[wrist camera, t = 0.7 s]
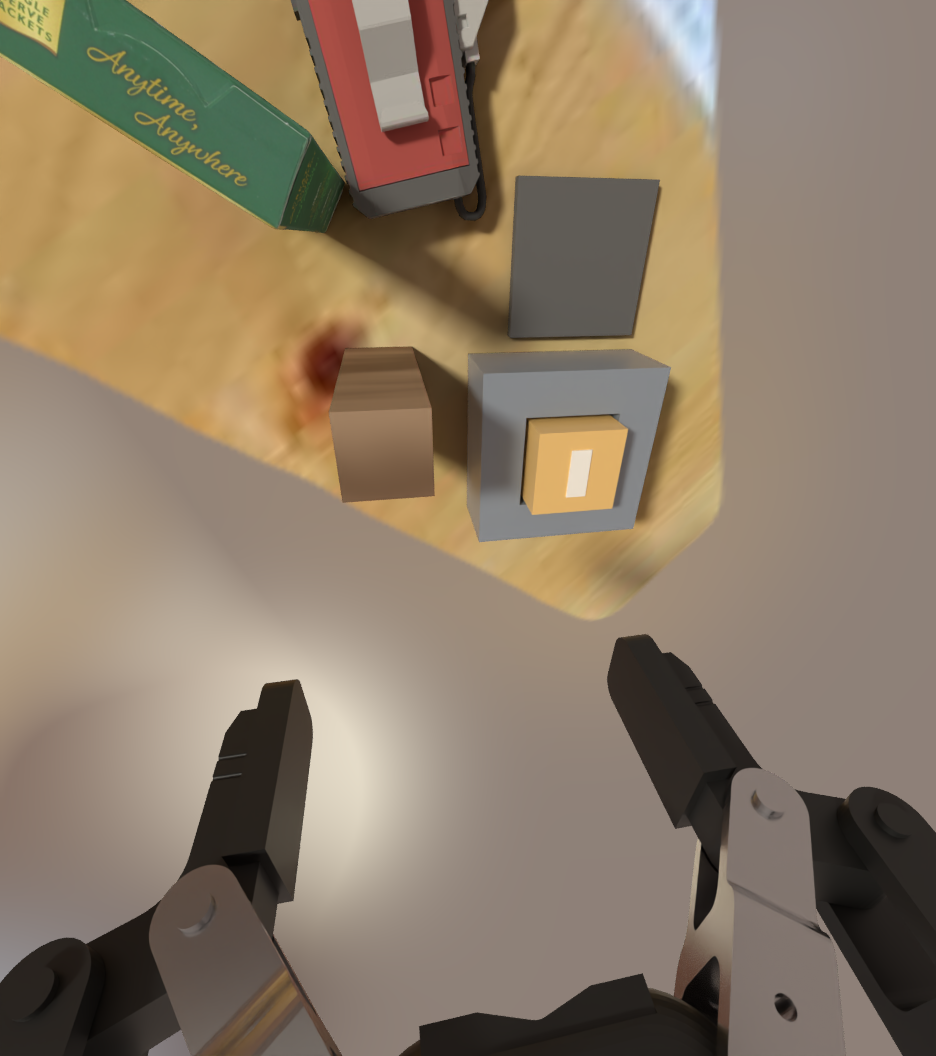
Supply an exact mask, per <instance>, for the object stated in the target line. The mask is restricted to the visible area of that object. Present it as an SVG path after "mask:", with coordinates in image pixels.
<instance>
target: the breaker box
mask: <svg viewBox="0 0 936 1056" xmlns="http://www.w3.org/2000/svg"><path fill="white" fill-rule="evenodd" d="M670 369H671V367H669V366H667V365H665V364H662V363H660V362H658V361H656V360H654V359H652V358H649V357H647V356H645V355H643V354H641V353H638V352H636V351H634V350H632V349H621V350H584V351H548V352H511V353H475V354H468V433H467V507H468V510H469V513H470V516H471V519H472V522H473V525H474V528H475V531H476V534H477V537H478V540H479V542H485V541H497V540H508V539H520V538H531V537H543V536H554V535H566V534H577V533H589V532H600V531H612V530H623V529H633V527H634V523H635V518H636V514H637V510H638V506H639V501H640V497H641V493H642V489H643V484H644V480H645V476H646V472H647V467H648V463H649V459H650V454H651V450H652V446H653V442H654V437H655V433H656V429H657V425H658V420H659V416H660V412H661V408H662V403H663V399H664V395H665V391H666V386H667V382H668V378H669V374H670ZM600 414H609V415H611V416H612V417H613V418H614V419H616V420H617V421H618V422H620V423H621V424H622V425H623V426H625V427H626V428H627V429H628V433H627V438H626V443H625V448H624V453H623V458H622V463H621V468H620V473H619V478H618V482H617V487H616V492H615V497H614V502H613V507H612V509H601V510H588V511H576V512H563V513H551V514H538V515H532V514H531V512H530V510H529V508H528V507H527V505H526V503H525V501H524V499H523V497H522V496H521V494H520V493H521V480H522V467H523V454H524V442H525V429H526V418H539V417H559V416H580V415H600Z"/></svg>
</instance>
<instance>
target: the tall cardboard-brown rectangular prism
mask: <svg viewBox="0 0 936 1056" xmlns="http://www.w3.org/2000/svg"><path fill="white" fill-rule="evenodd" d="M329 417H330V424H331V430H332V437H333V443H334V450H335V456H336V463H337V469H338V475H339V482H340V488H341V495H342V501H343V503H344V502H358V501H372V500H386V499H400V498H414V497H428V496H434V466H433V436H432V408H431V405H430V402H429V398H428V395H427V392H426V389H425V386H424V383H423V379H422V376H421V373H420V370H419V367H418V364H417V361H416V357H415V354H414V351H413V348H412V347H377V348H345V352H344V356H343V360H342V364H341V367H340V371H339V375H338V379H337V383H336V387H335V390H334V394H333V398H332V402H331V406H330V410H329Z"/></svg>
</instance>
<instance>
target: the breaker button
mask: <svg viewBox="0 0 936 1056" xmlns="http://www.w3.org/2000/svg"><path fill="white" fill-rule="evenodd" d="M627 433H628V429H627V428H626V427H625V426H623V425H622V424H621V423H620V422H618V421H617V420H616V419H614V418H613V417H612V416H611V415H609V414H600V415H580V416H559V417H539V418H526V429H525V442H524V454H523V467H522V480H521V493H520V494H521V496H522V497H523V499H524V501H525V503H526V505H527V507H528V508H529V510H530V512H531V514H532V515H538V514H551V513H563V512H576V511H588V510H601V509H612V507H613V502H614V497H615V492H616V487H617V482H618V478H619V473H620V468H621V463H622V458H623V453H624V448H625V443H626V438H627Z"/></svg>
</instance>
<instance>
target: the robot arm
mask: <svg viewBox="0 0 936 1056" xmlns="http://www.w3.org/2000/svg"><path fill="white" fill-rule="evenodd" d="M607 682H608V689H609V693H610V696H611V699H612V701H613V703H614V705H615V707H616V709H617V711H618V713H619V715H620V717H621V719H622V721H623V723H624V725H625V727H626V729H627V731H628V733H629V735H630V738H631V739H632V742H633V744H634V746H635V748H636V750H637V752H638V754H639V756H640V758H641V760H642V762H643V764H644V766H645V768H646V770H647V772H648V774H649V776H650V778H651V780H652V782H653V784H654V786H655V788H656V790H657V793H658V795H659V797H660V799H661V801H662V803H663V805H664V807H665V809H666V811H667V813H668V815H669V817H670V819H671V821H672V823H673V825H674V827H675V829H677V828H682V827H687V826H692V827H693V829H694V831H695V833H696V835H697V837H698V840H697V844H696V852H695V861H694V870H693V879H692V889H691V897H690V906H689V916H688V925H687V932H686V937H685V941H684V945H683V948H682V951H681V954H680V959H679V962H678V967H677V973H676V980H675V988H674V996H672V995H670V994H668V993H665V992H662V991H659V990H656V989H652V988H648V987H647V984H646V982H645V979H644V976H643V974H638V975H634V976H630V977H625V978H621V979H617V980H613V981H609V982H605V983H600V984H596V985H591V986H589V987H588V988H587V989H585V990H584V991H582V992H581V993H580V994H578V995H576V996H575V997H573V998H572V999H571V1000H569V1001H568V1002H566V1003H565V1004H563V1005H562V1006H560V1007H559V1008H557V1009H556V1010H555V1011H553V1012H552V1013H550V1014H549V1015H547V1016H546V1017H544V1018H543V1019H540V1020H527V1019H520V1018H512V1017H505V1016H498V1015H490V1014H484V1013H473V1014H469V1015H465V1016H460V1017H456V1018H453V1019H448V1020H444V1021H440V1022H435V1023H431V1024H427V1025H423V1026H419V1030H420V1040H418V1041H417V1042H416V1043H414V1044H413V1045H412V1046H410V1047H408V1048H407V1049H406V1050H405V1051H404V1052H403V1053H401V1054H400V1055H399V1056H846V1052H845V1041H844V1031H843V1021H842V1010H841V1001H840V989H839V979H838V969H837V960H836V954H835V949H834V946H833V943H832V941H831V939H830V937H829V936H828V935H827V934H826V933H825V932H823V931H821V929H820V927H819V925H818V922H817V916H816V909H817V911H818V912H819V914H820V916H821V918H822V919H823V921H824V923H825V924H826V926H827V928H828V929H829V931H830V933H831V934H832V936H833V938H834V940H835V941H836V943H837V945H838V946H839V948H840V950H841V952H842V953H843V955H844V957H845V958H846V960H847V961H848V963H849V965H850V967H851V968H852V970H853V972H854V973H855V975H856V977H857V979H858V980H859V982H860V984H861V986H862V987H863V989H864V991H865V992H866V994H867V996H868V997H869V999H870V1001H871V1003H872V1004H873V1006H874V1008H875V1009H876V1011H877V1013H878V1014H879V1016H880V1018H881V1019H882V1021H883V1023H884V1025H885V1026H886V1028H887V1030H888V1031H889V1033H890V1035H891V1037H892V1038H893V1040H894V1042H895V1043H896V1045H897V1047H898V1048H899V1050H900V1052H901V1054H902V1055H903V1056H936V832H935V831H934V830H933V829H932V828H931V827H930V825H929V824H928V823H927V822H926V821H925V820H924V818H923V817H922V816H921V815H920V814H919V813H918V812H917V811H916V810H915V809H913V808H912V807H911V806H910V805H909V804H907V803H906V802H904V801H903V800H902V799H900V798H898V797H897V796H895V795H893V794H891V793H889V792H887V791H884V790H881V789H878V788H873V787H861V788H857V789H855V790H854V791H853V792H852V793H851V794H850V795H849V796H848V797H847V799H843V798H837V797H831V796H825V795H819V794H813V793H807V792H803V791H798V790H795V789H794V788H793V787H792V786H790V784H788V783H787V782H786V781H785V780H783V779H782V778H780V777H779V776H777V775H775V774H773V773H771V772H769V771H766V770H763V769H762V768H761V767H760V766H759V765H758V764H757V763H756V761H755V760H754V759H753V757H752V756H751V754H750V753H749V752H748V750H747V749H746V747H745V746H744V744H743V743H742V742H741V740H740V739H739V737H738V736H737V734H736V733H735V732H734V730H733V729H732V727H731V726H730V724H729V723H728V722H727V720H726V719H725V717H724V716H723V715H722V713H721V712H720V710H719V709H718V707H717V706H716V704H713V702H712V699H711V697H710V696H709V694H708V693H707V692H706V690H705V689H703V688H702V684H701V683H700V682H699V680H698V679H697V677H696V676H695V674H694V673H693V671H692V670H691V669H690V667H689V666H687V665H686V664H685V663H684V662H682V661H681V660H680V659H679V658H677V657H676V656H675V655H674V654H672V653H671V652H669V653H662V652H661V651H660V649H659V648H658V646H657V645H656V643H655V642H654V640H653V639H652V638H651V637H650V636H649V635H646V634H644V635H636V636H628V637H621V638H618V639H617V640H616V643H615V647H614V651H613V655H612V659H611V663H610V668H609V671H608V676H607ZM312 739H313V729H312V720H311V715H310V712H309V709H308V706H307V703H306V699H305V697H304V693H303V690H302V687H301V684H300V681H299V680H297V679H296V680H289V681H281V682H273V683H266V684H265V685H264V686H263V688H262V691H261V695H260V699H259V703H258V707H257V709H252V710H245V711H241V712H240V713H239V715H238V716H237V717H236V719H235V720H234V722H233V723H232V724H231V726H230V727H229V729H228V730H227V732H226V733H225V736H224V740H223V743H222V746H221V750H220V753H219V761H217V764H216V767H215V770H214V774H213V781H212V782H211V784H210V788H209V791H208V794H207V798H206V801H205V805H204V809H203V812H202V815H201V819H200V822H199V825H198V829H197V832H196V836H195V839H194V843H193V846H192V849H191V853H190V856H189V860H188V862H187V864H186V867H185V869H184V871H183V873H182V874H181V876H180V878H179V879H178V881H177V882H176V883H175V884H174V885H173V886H172V887H171V888H170V889H169V890H168V892H167V893H166V894H165V895H164V897H163V898H162V900H160V901H159V902H158V903H157V904H156V905H155V906H153V907H152V908H150V909H149V910H148V911H146V912H145V913H143V914H141V915H140V916H138V917H136V918H135V919H132V920H131V921H129V922H127V923H125V924H123V925H121V926H119V927H117V928H115V929H114V930H112V931H110V932H108V933H106V934H104V935H102V936H100V937H98V938H97V939H95V940H93V941H91V942H89V943H87V944H85V943H83V942H82V941H81V940H78V939H75V938H62V939H57V940H54V941H51V942H49V943H47V944H45V945H43V946H41V947H39V948H38V949H36V950H35V951H34V952H31V953H30V954H29V955H28V956H26V957H25V958H24V959H23V960H21V962H19V963H18V964H17V965H16V966H15V967H14V968H13V969H12V970H11V971H10V972H9V974H7V975H6V977H5V978H4V979H3V980H2V982H1V983H0V1056H148V1051H149V1049H151V1048H153V1047H154V1046H155V1045H157V1044H159V1043H160V1042H162V1041H163V1040H165V1039H166V1038H168V1037H170V1036H171V1035H173V1034H175V1033H176V1032H178V1031H179V1030H182V1033H183V1036H184V1039H185V1041H186V1044H187V1047H188V1049H189V1052H190V1055H191V1056H342V1054H341V1052H340V1050H339V1049H338V1047H337V1045H336V1044H335V1042H334V1040H333V1038H332V1037H331V1035H330V1033H329V1032H328V1030H327V1029H326V1027H325V1025H324V1023H323V1022H322V1020H321V1018H320V1017H319V1015H318V1013H317V1011H316V1009H315V1008H314V1006H313V1004H312V1002H311V1000H310V999H309V997H308V995H307V993H306V991H305V990H304V988H303V986H302V984H301V982H300V981H299V979H298V977H297V975H296V973H295V972H294V970H293V968H292V967H291V964H290V963H289V961H288V960H287V957H286V955H285V954H284V952H283V950H282V948H281V947H280V945H279V943H278V941H277V939H276V938H275V936H274V934H273V931H274V923H275V917H276V910H277V904H279V903H284V902H289V901H293V899H294V891H295V890H294V889H295V883H296V874H297V866H298V858H299V849H300V841H301V832H302V825H303V816H304V808H305V800H306V790H307V782H308V774H309V766H310V758H311V749H312Z"/></svg>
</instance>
